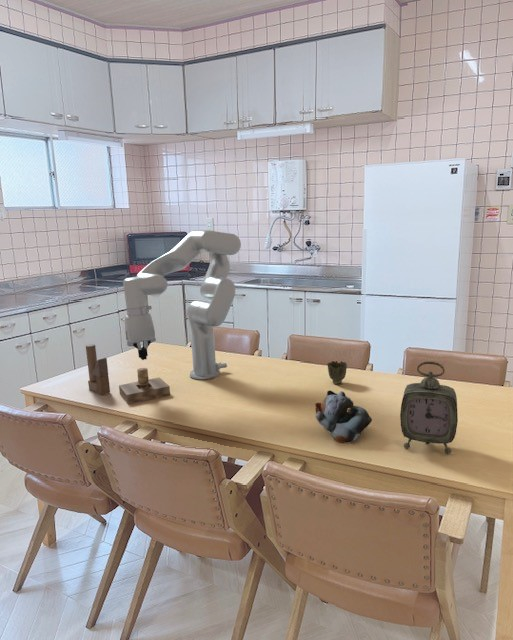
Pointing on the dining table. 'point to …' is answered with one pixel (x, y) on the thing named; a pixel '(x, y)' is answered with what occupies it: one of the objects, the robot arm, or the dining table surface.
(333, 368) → the cup
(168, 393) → the board
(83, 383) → the dining table surface
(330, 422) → the lucky cat figurine
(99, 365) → the brown jointed angular part
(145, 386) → the peg
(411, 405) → the tabletop clock
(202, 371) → the robot arm
